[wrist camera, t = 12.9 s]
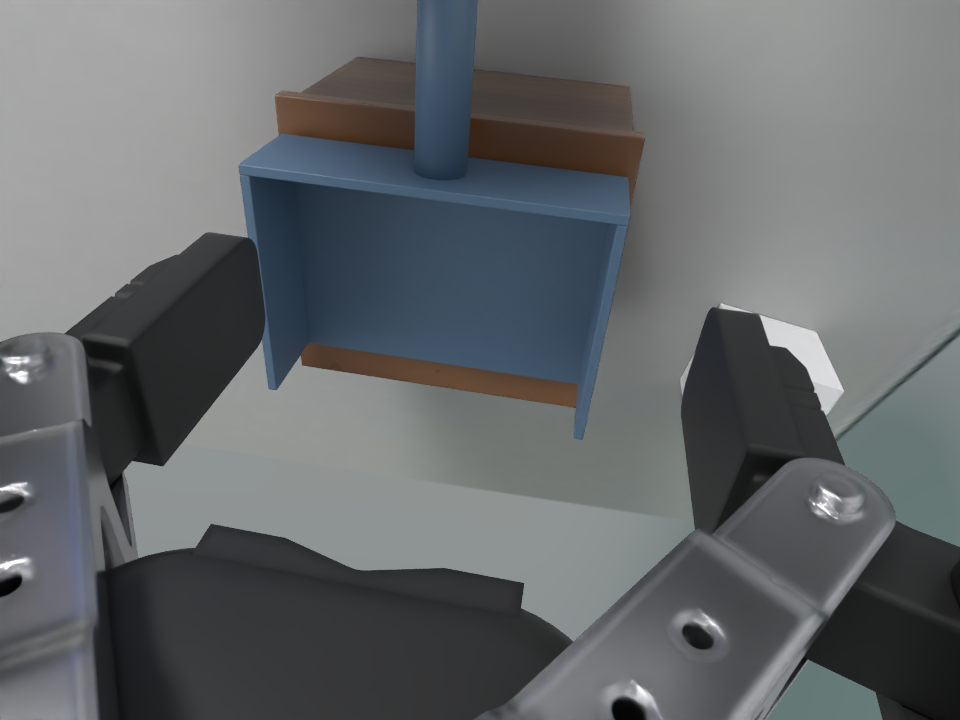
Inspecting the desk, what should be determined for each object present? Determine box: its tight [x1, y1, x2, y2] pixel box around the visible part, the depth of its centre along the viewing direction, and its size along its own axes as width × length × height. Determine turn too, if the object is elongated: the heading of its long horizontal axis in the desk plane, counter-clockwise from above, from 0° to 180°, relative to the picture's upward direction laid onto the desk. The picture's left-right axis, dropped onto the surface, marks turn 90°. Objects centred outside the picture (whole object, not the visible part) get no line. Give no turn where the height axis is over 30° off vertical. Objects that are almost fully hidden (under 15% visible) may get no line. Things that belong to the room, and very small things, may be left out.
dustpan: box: [238, 0, 630, 440], centre depth 26 cm, size 20×14×4 cm
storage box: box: [275, 57, 645, 408], centre depth 35 cm, size 15×15×10 cm
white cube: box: [680, 303, 844, 416], centre depth 40 cm, size 6×6×6 cm
